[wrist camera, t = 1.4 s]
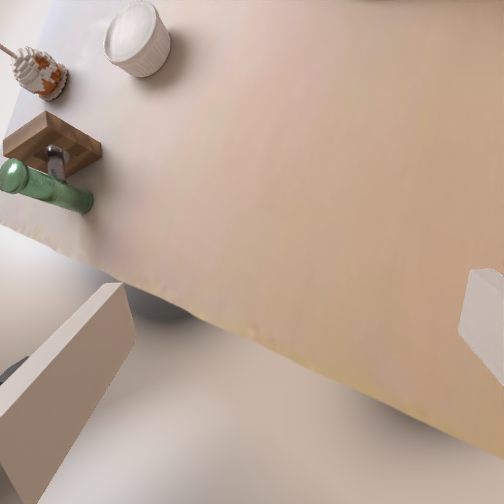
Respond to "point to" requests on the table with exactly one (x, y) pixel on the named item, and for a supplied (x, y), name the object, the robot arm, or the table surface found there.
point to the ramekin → (137, 40)
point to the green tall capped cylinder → (45, 182)
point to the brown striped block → (51, 132)
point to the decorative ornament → (37, 72)
